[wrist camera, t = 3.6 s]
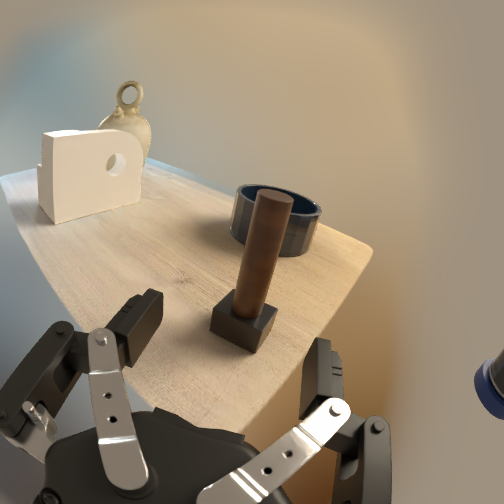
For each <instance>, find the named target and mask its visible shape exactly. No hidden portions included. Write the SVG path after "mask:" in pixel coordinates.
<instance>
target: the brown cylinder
mask: <svg viewBox="0 0 504 504" xmlns="http://www.w3.org/2000/svg"><path fill="white" fill-rule="evenodd" d="M293 202H294V199H293V198H292V197H291V196H289V195H287V194H285V193H282V192H279V191H276V190H270V189H260V190H258V191H257V196H256V200H255V204H254V209H253V213H252V218H251V222H250V226H249V231H248V235H247V240H246V244H245V249H244V253H243V258H242V262H241V267H240V271H239V276H238V280H237V285H236V289H233V290H232V291H231V292H229V293H228V294H227V295H226V296H225V297H224V298H223V299H222V300H221V301H220V302H219V303H218V304H217V305H216V306H215V307H214V308H213V311H212V317H211V324H210V330H209V331H211V332H213V333H215V334H216V335H218V336H220V337H222V338H224V339H226V340H228V341H230V342H232V343H234V344H236V345H238V346H240V347H242V348H244V349H246V350H248V351H250V352H252V353H254V354H255V353H256V352H257V350H258V349H259V347H260V346H261V344H262V343H263V341H264V340H265V338H266V337H267V335H268V334H269V332H270V331H271V328H272V326H273V323H274V320H275V317H276V314H277V311H278V309H277V308H275V307H273V306H271V305H268V304H266V303H264V302H265V299H266V296H267V292H268V289H269V286H270V282H271V279H272V275H273V272H274V269H275V265H276V262H277V258H278V255H279V251H280V248H281V245H282V241H283V237H284V234H285V230H286V227H287V223H288V220H289V216H290V213H291V209H292V205H293Z"/></svg>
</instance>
